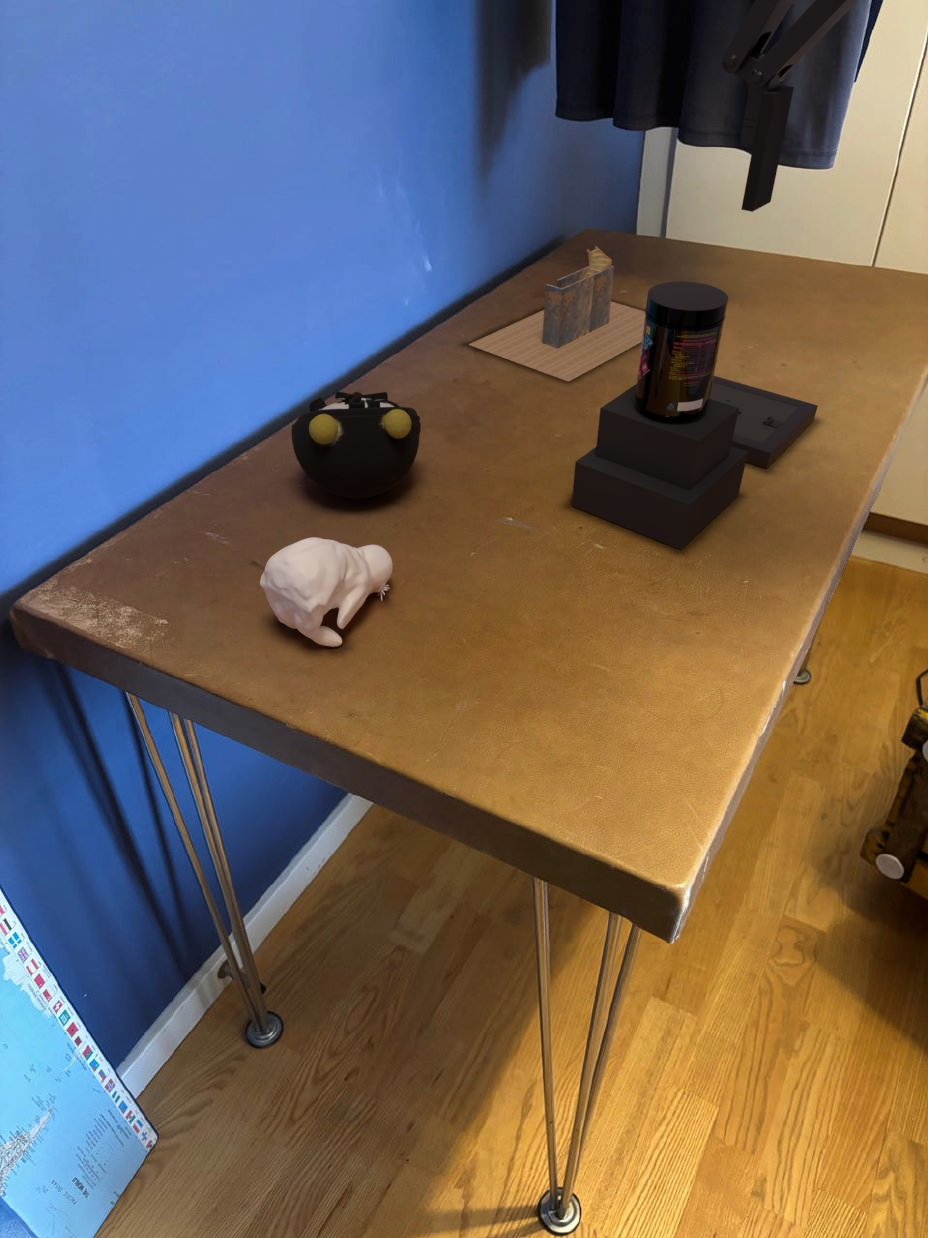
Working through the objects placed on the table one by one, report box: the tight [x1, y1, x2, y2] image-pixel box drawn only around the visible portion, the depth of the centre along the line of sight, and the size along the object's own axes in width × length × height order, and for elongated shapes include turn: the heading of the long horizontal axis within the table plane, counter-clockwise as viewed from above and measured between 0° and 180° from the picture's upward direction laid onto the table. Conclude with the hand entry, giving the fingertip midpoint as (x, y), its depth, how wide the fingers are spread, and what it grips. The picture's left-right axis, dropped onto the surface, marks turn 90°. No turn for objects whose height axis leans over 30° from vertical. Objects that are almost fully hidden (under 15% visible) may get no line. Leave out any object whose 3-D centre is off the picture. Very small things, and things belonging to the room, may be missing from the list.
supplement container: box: [635, 280, 729, 423], centre depth 80 cm, size 7×7×10 cm
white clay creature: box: [259, 536, 394, 648], centre depth 74 cm, size 6×8×12 cm
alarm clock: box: [291, 391, 422, 500], centre depth 89 cm, size 12×15×15 cm
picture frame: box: [710, 375, 819, 469], centre depth 102 cm, size 13×2×18 cm
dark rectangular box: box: [571, 446, 748, 551], centre depth 88 cm, size 12×12×5 cm
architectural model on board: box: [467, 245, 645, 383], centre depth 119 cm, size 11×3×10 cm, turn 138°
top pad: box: [595, 383, 739, 490], centre depth 85 cm, size 10×8×5 cm
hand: (861, 227), depth 55 cm, fingers open, 13 cm apart
